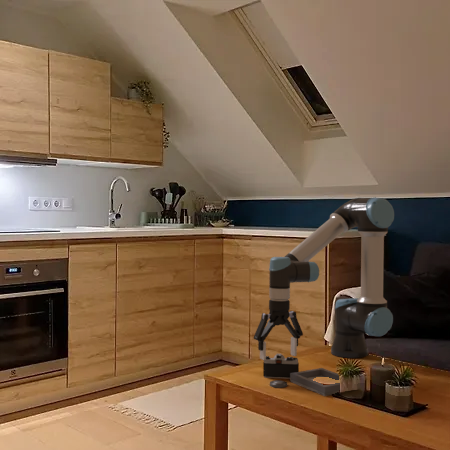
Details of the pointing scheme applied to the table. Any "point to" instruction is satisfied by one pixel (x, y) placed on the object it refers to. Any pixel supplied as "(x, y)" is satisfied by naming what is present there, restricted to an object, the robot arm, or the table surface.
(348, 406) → the table surface
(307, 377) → the case tray
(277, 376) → the camera
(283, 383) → the lens cap
